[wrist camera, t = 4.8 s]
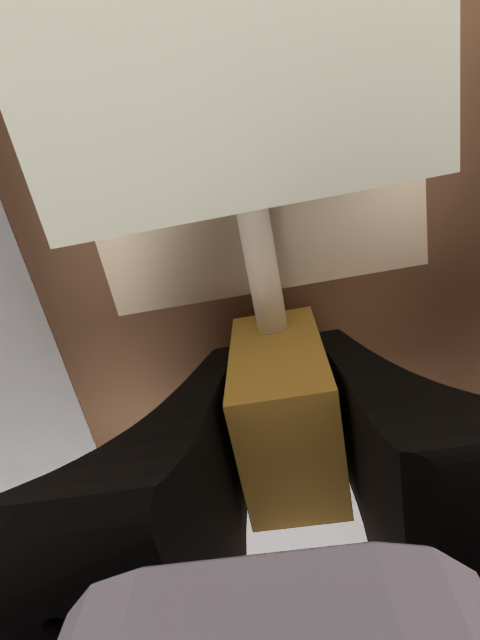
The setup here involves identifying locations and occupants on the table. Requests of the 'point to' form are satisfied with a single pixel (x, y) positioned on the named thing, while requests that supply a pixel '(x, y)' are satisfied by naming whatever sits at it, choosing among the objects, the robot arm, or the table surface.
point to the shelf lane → (294, 270)
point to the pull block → (235, 168)
